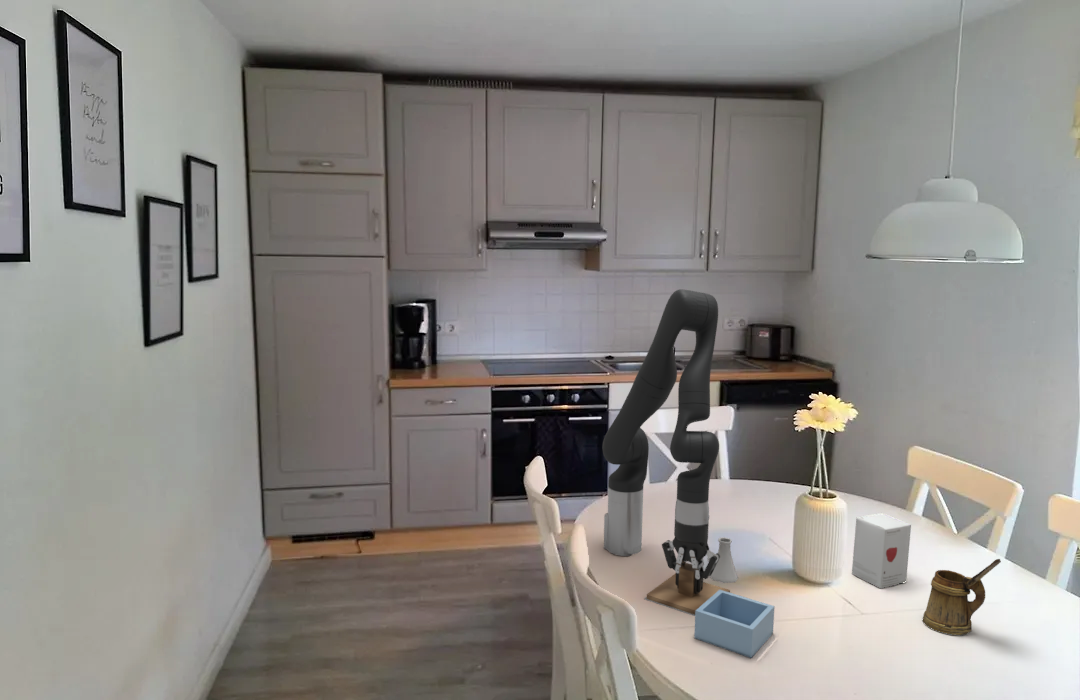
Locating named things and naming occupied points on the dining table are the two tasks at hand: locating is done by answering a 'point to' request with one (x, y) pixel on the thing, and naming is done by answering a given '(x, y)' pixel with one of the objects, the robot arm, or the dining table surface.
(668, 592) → the walnut lid
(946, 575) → the wooden mug
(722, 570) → the flask
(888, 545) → the supplement box
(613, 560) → the dining table surface
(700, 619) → the blue storage bin
